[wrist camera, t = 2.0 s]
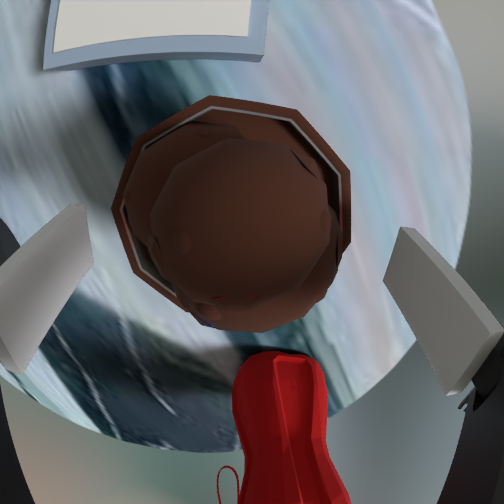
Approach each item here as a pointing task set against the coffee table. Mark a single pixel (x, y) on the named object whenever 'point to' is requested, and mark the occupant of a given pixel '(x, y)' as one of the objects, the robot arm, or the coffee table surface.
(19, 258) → the robot arm
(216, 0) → the base plinth
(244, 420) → the water bottle
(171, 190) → the ice cream bowl
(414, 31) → the coffee table surface
